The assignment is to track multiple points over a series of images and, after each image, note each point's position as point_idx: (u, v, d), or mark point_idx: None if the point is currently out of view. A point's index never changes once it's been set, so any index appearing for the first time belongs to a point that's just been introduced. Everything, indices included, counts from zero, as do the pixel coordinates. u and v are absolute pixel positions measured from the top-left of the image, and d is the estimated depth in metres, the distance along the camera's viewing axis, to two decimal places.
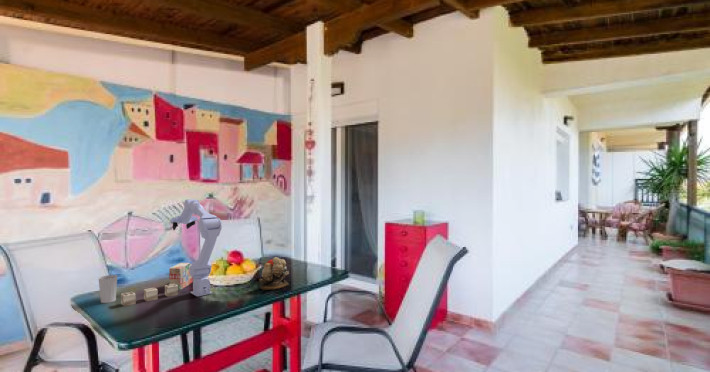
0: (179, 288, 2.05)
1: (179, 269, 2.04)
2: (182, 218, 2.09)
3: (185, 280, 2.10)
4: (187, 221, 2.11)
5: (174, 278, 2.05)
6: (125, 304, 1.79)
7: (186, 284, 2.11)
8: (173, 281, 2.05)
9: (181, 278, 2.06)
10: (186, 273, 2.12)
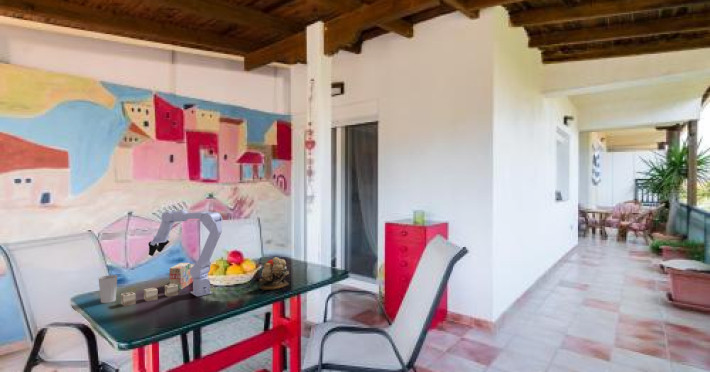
0: (179, 288, 2.05)
1: (179, 269, 2.04)
2: (162, 236, 2.00)
3: (185, 280, 2.10)
4: (166, 238, 2.03)
5: (174, 278, 2.05)
6: (125, 304, 1.79)
7: (186, 284, 2.12)
8: (173, 281, 2.05)
9: (181, 278, 2.06)
10: (186, 273, 2.12)
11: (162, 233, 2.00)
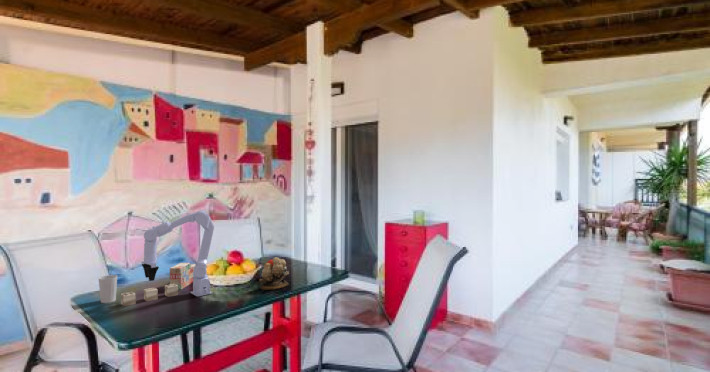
0: (179, 288, 2.05)
1: (179, 269, 2.05)
2: (154, 256, 1.89)
3: (185, 280, 2.10)
4: None
5: (174, 278, 2.05)
6: (125, 304, 1.79)
7: (186, 284, 2.12)
8: (173, 281, 2.05)
9: (181, 278, 2.06)
10: (187, 273, 2.12)
11: (153, 253, 1.88)
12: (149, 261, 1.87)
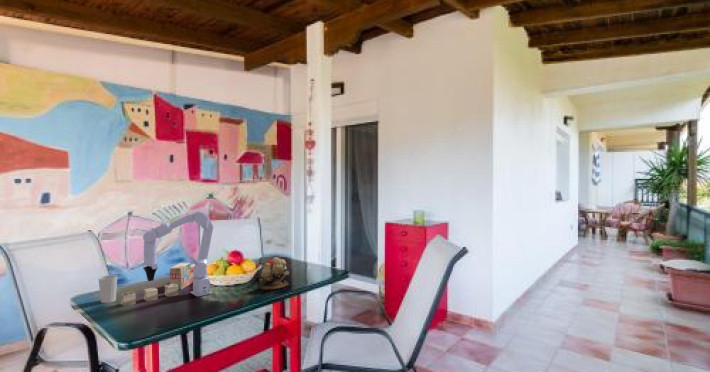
0: (180, 288, 2.05)
1: (180, 269, 2.05)
2: (154, 257, 1.88)
3: (185, 280, 2.10)
4: None
5: (174, 278, 2.05)
6: (125, 304, 1.79)
7: (187, 284, 2.12)
8: (174, 281, 2.05)
9: (182, 278, 2.06)
10: (187, 273, 2.12)
11: (153, 254, 1.87)
12: (149, 263, 1.86)
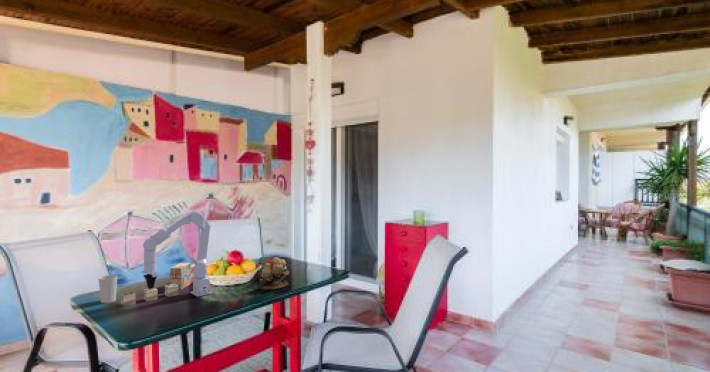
0: (180, 288, 2.05)
1: (180, 269, 2.05)
2: (155, 265, 1.88)
3: (185, 280, 2.10)
4: None
5: (175, 277, 2.05)
6: (125, 304, 1.79)
7: (187, 284, 2.12)
8: (174, 281, 2.05)
9: (182, 278, 2.06)
10: (187, 273, 2.12)
11: (154, 262, 1.87)
12: (150, 271, 1.86)
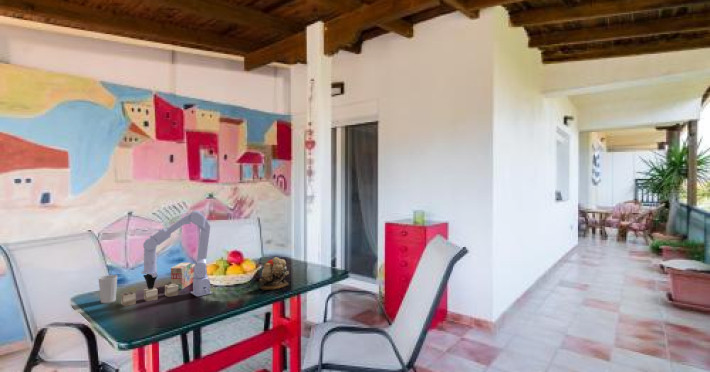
0: (181, 288, 2.05)
1: (181, 269, 2.05)
2: (154, 265, 1.88)
3: (186, 280, 2.10)
4: None
5: (175, 277, 2.05)
6: (125, 304, 1.79)
7: (187, 284, 2.12)
8: (174, 281, 2.05)
9: (182, 278, 2.07)
10: (188, 273, 2.12)
11: (153, 262, 1.87)
12: (150, 271, 1.86)
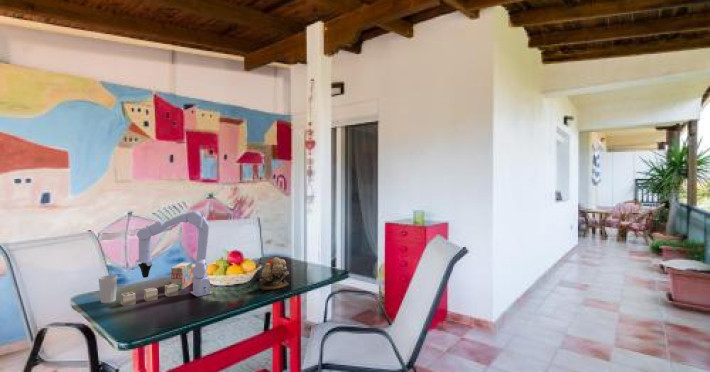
0: (181, 288, 2.06)
1: (181, 269, 2.05)
2: (149, 254, 1.91)
3: (186, 280, 2.11)
4: None
5: (176, 277, 2.05)
6: (125, 304, 1.79)
7: (188, 284, 2.12)
8: (175, 281, 2.05)
9: (183, 278, 2.07)
10: (188, 273, 2.13)
11: (148, 251, 1.90)
12: (144, 259, 1.89)
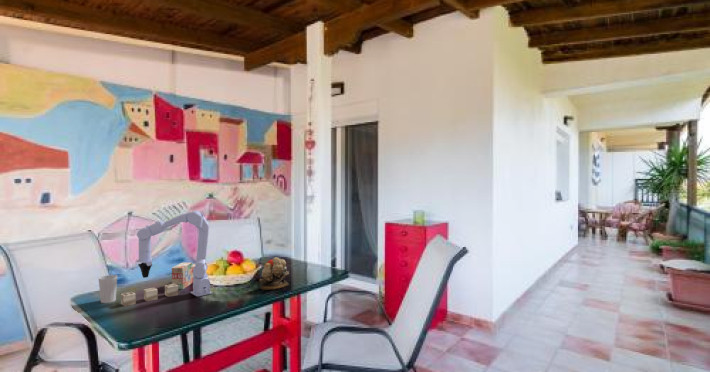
0: (181, 287, 2.06)
1: (181, 269, 2.05)
2: (149, 254, 1.91)
3: (187, 280, 2.11)
4: None
5: (176, 277, 2.06)
6: (125, 304, 1.79)
7: (188, 283, 2.13)
8: (175, 281, 2.06)
9: (183, 278, 2.07)
10: (188, 273, 2.13)
11: (148, 251, 1.90)
12: (144, 259, 1.89)
